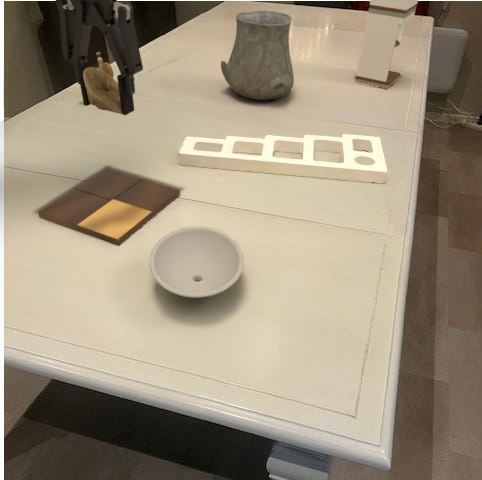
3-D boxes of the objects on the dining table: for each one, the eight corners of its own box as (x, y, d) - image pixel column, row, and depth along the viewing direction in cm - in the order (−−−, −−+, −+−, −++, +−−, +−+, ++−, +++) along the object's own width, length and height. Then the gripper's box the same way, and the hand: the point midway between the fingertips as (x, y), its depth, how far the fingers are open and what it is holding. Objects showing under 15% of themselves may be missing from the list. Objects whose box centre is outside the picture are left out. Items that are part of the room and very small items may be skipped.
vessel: (242, 113, 129) (245, 29, 115) (211, 86, 144) (211, 9, 130) (312, 104, 136) (323, 24, 122) (276, 79, 151) (282, 5, 137)
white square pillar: (387, 89, 148) (421, -52, 124) (354, 82, 151) (381, -57, 127) (398, 79, 155) (431, -56, 131) (366, 73, 159) (393, -60, 135)
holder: (178, 164, 106) (178, 153, 104) (194, 131, 119) (193, 121, 118) (384, 183, 104) (387, 172, 102) (376, 147, 117) (379, 137, 115)
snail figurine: (113, 97, 134) (106, 50, 126) (125, 104, 131) (120, 56, 122) (95, 101, 131) (88, 53, 123) (108, 108, 128) (101, 60, 120)
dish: (155, 250, 83) (153, 226, 79) (238, 249, 84) (239, 225, 81) (148, 322, 70) (145, 297, 67) (246, 320, 71) (248, 295, 68)
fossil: (85, 86, 81) (86, 55, 86) (71, 105, 83) (73, 73, 88) (129, 117, 87) (128, 86, 92) (115, 133, 89) (115, 102, 94)
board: (39, 217, 89) (37, 211, 88) (107, 173, 102) (106, 167, 101) (118, 245, 84) (117, 239, 83) (180, 195, 97) (179, 189, 96)
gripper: (157, -40, 73) (167, 112, 88) (50, -54, 79) (77, 91, 94) (128, -34, 68) (144, 126, 83) (16, -49, 74) (50, 103, 89)
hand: (108, 107), depth 89 cm, fingers closed on fossil, 8 cm apart
